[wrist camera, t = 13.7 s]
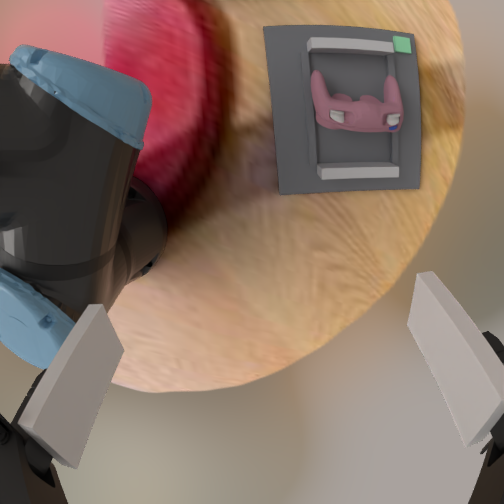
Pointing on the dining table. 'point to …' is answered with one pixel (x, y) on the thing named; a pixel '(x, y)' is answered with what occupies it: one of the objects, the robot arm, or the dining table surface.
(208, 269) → the dining table surface
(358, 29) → the charging cradle
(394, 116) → the video game controller
